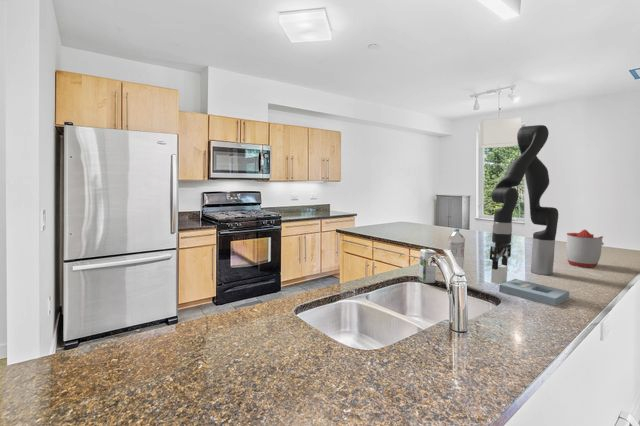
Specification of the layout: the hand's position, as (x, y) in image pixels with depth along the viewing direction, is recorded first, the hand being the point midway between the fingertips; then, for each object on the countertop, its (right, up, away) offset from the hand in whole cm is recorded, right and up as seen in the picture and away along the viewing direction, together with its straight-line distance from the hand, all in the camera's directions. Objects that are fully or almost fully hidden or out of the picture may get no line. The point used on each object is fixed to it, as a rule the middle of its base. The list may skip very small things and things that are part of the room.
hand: (499, 267), depth 148 cm
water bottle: (-21, -7, -2) cm, 22 cm away
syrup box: (-32, -7, +3) cm, 33 cm away
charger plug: (0, -7, +1) cm, 7 cm away
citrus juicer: (+64, -4, +33) cm, 73 cm away
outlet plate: (+5, -9, -15) cm, 18 cm away
